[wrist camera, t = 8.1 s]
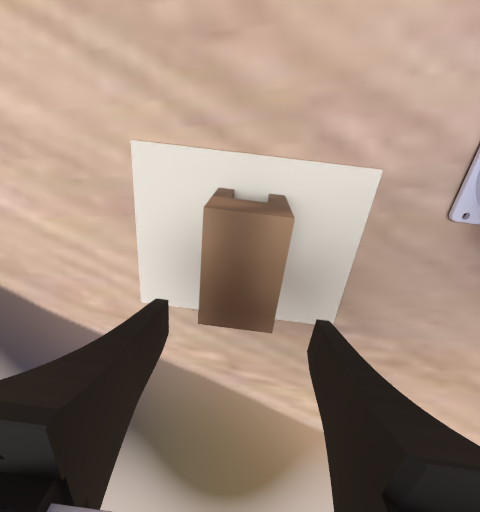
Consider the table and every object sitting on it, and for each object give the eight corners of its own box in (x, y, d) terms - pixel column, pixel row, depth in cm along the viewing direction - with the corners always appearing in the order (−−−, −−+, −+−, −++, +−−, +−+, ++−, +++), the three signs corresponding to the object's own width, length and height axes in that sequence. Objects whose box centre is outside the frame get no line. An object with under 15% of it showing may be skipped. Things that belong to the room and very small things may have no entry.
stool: (284, 195, 20) (295, 218, 14) (268, 286, 23) (271, 333, 18) (218, 187, 20) (203, 207, 14) (212, 279, 23) (197, 323, 18)
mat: (379, 168, 19) (382, 169, 18) (330, 322, 25) (332, 326, 24) (134, 139, 19) (130, 139, 19) (143, 298, 25) (140, 302, 25)
